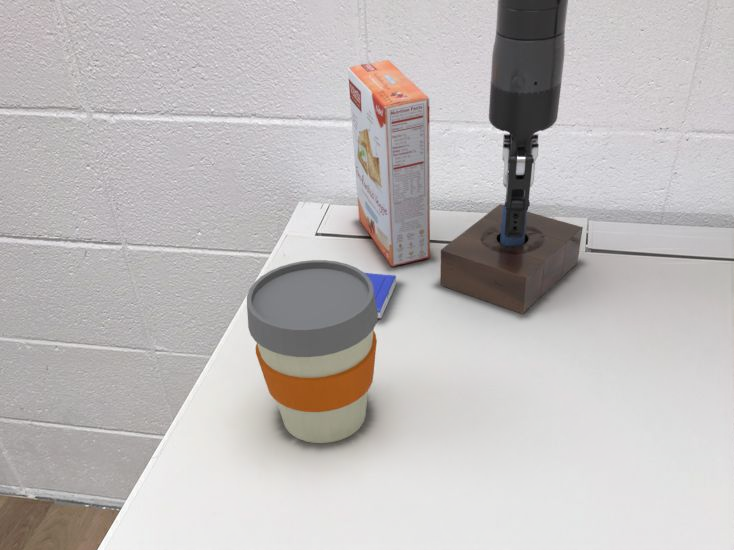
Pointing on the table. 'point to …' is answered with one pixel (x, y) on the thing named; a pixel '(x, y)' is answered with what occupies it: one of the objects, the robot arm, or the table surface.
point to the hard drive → (382, 290)
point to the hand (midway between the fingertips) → (514, 218)
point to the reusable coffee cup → (316, 345)
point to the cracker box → (391, 160)
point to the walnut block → (510, 260)
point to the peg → (510, 240)
